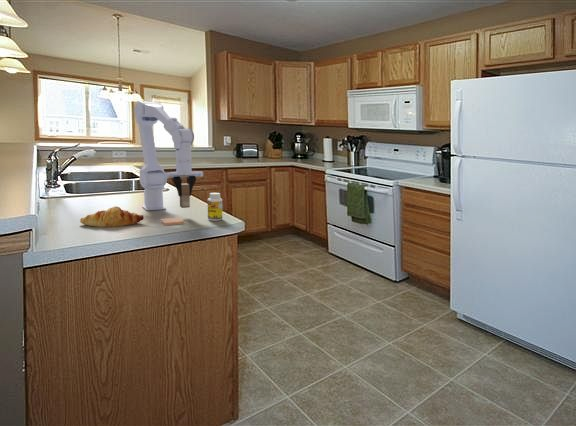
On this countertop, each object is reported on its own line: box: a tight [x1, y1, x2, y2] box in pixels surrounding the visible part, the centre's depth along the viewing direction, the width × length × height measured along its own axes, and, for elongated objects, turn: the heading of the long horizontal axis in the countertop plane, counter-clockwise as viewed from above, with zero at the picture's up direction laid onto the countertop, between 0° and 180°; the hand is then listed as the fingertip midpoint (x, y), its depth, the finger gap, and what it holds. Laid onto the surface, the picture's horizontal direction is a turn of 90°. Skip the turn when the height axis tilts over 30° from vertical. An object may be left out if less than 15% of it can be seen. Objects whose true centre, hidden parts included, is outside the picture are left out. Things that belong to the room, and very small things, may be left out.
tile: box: [160, 217, 185, 227], centre depth 152 cm, size 1×7×7 cm
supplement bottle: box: [207, 192, 223, 222], centre depth 157 cm, size 6×6×10 cm
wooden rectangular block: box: [179, 182, 191, 209], centre depth 159 cm, size 3×3×9 cm
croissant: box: [79, 205, 145, 228], centre depth 146 cm, size 21×10×8 cm
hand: (184, 195), depth 160 cm, fingers closed on wooden rectangular block, 3 cm apart
